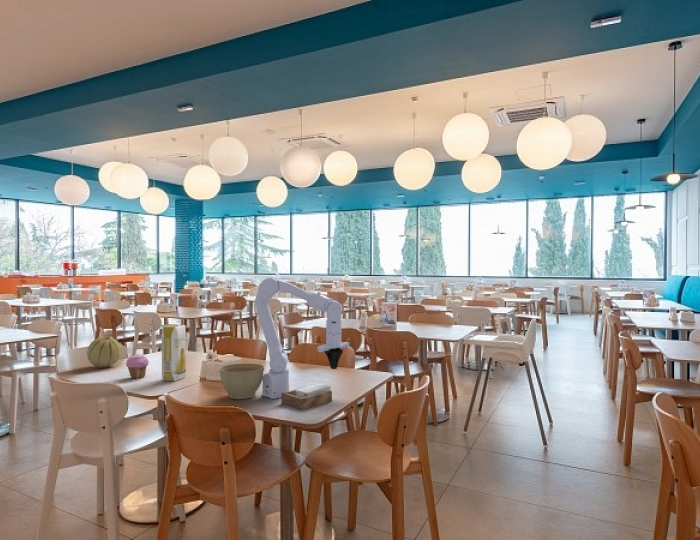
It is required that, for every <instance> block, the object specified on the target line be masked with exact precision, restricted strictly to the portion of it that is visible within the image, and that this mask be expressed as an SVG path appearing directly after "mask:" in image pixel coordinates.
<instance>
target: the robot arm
mask: <svg viewBox="0 0 700 540" xmlns="http://www.w3.org/2000/svg"><path fill="white" fill-rule="evenodd" d="M277 293H278V294H281V293H282V294H283V293H288V294H290V295H293V296H295V297H297V298H299V299H301V300H304V301H306V302H307V306H309V307H311V308H313V309H316V310H318V311H320V312H322V313H325V312H326V316H327V317H326V321H325V322H326V323H325V325H326V327H325V329H326V331H325V334H326V335H325V337H326V338H325V339H326V341H325V342H326V343H325V344H322V345H318V346H317V353H323V352H324V353H325V356H326V357H327V359H328V363H329V367H330V369H331V370H337V369H338V365H339V361H340V359H341V356H342V354H343V353H344V351H343V349H344V348H345V349H346V348H347V349H348V348H350V342H348V341H344V342H343V341H342V320H341V319H342V315H341V314H342V312H343V309H342V306H341V303H340V302H338V301H337V300H336V299H333V298H332V297H328V296H326V295H323V294H322V292H320V291H312V292H308V291H307V290H305V289H302V288H301V287H299V286H296V285H294V284H292V283H290V282H288V281H286V280H283V279H278V278H276V277H275V276H274V277H266V278H265V279H263V280H262V281H261V283H260V285H259V286H258V288H257V291H256V296H255V300H254V307H255V309H256V310H255V311H256V312H257V315H258V319H259V323H260V327H261V329H262V331H263V336H264V338H265V341H266V345H267V348H268V349H267V350H268V355H269V362H268V363H269V370H268V372H267V373H263V379H262V393H261V394H260V395H261V396H264V397H267V398H270V399H271V400H272V399H273V400H275V399H280V398H282V393H283V392H287V391H290V380H289V379H290V369H289V367H287V366H288V363H289V356H288V354H287V353H286V352H285V351H284V346H282V343H281V341H280V338H279V334H278V332H277V328H276V325H275V322H274V319H273V315H272V311H271V309H270V306H269V304H270V303H271V300H272V298H273V296H274V295H276V294H277Z"/></svg>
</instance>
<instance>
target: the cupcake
mask: <svg viewBox="0 0 700 540" xmlns="http://www.w3.org/2000/svg"><path fill="white" fill-rule="evenodd" d="M149 363H150V361H149V359H148V358H147V357H146V356H145V355H143V354H134V355H130V356H129V357H128V358H127V359H126V363H125V367H127V369H128V372H129V373H128V374H129V376H130V377H132V378H131V379H140V377H141V378H144V377H145V376H146V372H147V366H148V365H149Z"/></svg>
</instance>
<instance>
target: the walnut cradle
mask: <svg viewBox="0 0 700 540" xmlns="http://www.w3.org/2000/svg"><path fill="white" fill-rule="evenodd" d="M305 387H306V386H305ZM305 387H303V388H305ZM301 388H302V387H300V388H297V389H296V388H295V389H292V390H289V391H287V392H283V393H282V397H281V404H284V405H285V406H289V407H292V408H295V409H298V410H305V409H309V408H312V407H317V406H319V405H323V404H327V403H331V402H333V391H332V390H331V391H327V392H323V393H319V394H315V395H311V396H307V397H303V398H301V397H297V396H296V390H298V389H301Z"/></svg>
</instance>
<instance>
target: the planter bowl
mask: <svg viewBox="0 0 700 540" xmlns="http://www.w3.org/2000/svg"><path fill="white" fill-rule="evenodd" d="M264 371H265V366H264V365H263V364H261V363H251V362H250V363H245V362H244V363H243V362H242V363H232V364H231V363H230V364H226V365H222V366H221V367H219V373H220V374H219V375H220V381H221V385H222V387H223V388H224V390H225V391H226V393H228V394H227V395H228V398H230V399H232V400H233V399H234V400H246V399H251V398H254V397H255V396H256V392H257V391H258V389H259V388H260V387H261V384H262V383H263V376H264Z"/></svg>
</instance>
